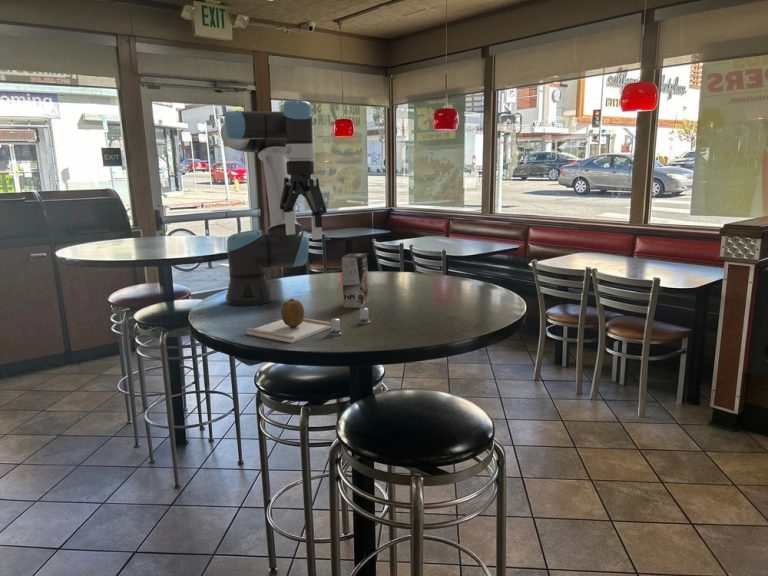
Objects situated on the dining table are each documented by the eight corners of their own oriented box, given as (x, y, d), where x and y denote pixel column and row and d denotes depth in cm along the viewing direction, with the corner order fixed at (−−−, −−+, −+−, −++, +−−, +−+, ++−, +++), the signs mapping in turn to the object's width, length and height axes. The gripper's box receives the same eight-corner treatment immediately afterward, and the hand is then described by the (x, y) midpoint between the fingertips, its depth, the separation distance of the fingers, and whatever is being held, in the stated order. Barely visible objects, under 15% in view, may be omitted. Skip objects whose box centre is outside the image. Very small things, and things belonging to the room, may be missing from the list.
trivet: (246, 333, 147) (246, 328, 147) (288, 320, 160) (288, 315, 160) (291, 342, 139) (291, 337, 138) (331, 327, 152) (331, 322, 151)
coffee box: (362, 308, 172) (361, 257, 169) (342, 307, 174) (340, 256, 170) (369, 301, 181) (367, 252, 178) (350, 301, 183) (348, 252, 179)
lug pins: (326, 334, 145) (325, 320, 144) (363, 320, 158) (362, 306, 158) (336, 336, 143) (336, 321, 142) (373, 321, 156) (372, 308, 156)
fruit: (307, 324, 153) (305, 295, 151) (302, 330, 146) (300, 301, 145) (285, 324, 153) (283, 296, 151) (279, 330, 147) (277, 301, 145)
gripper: (265, 160, 159) (269, 233, 164) (314, 160, 141) (317, 242, 146) (287, 160, 164) (291, 231, 169) (337, 159, 145) (340, 239, 150)
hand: (303, 236), depth 157 cm, fingers open, 13 cm apart
